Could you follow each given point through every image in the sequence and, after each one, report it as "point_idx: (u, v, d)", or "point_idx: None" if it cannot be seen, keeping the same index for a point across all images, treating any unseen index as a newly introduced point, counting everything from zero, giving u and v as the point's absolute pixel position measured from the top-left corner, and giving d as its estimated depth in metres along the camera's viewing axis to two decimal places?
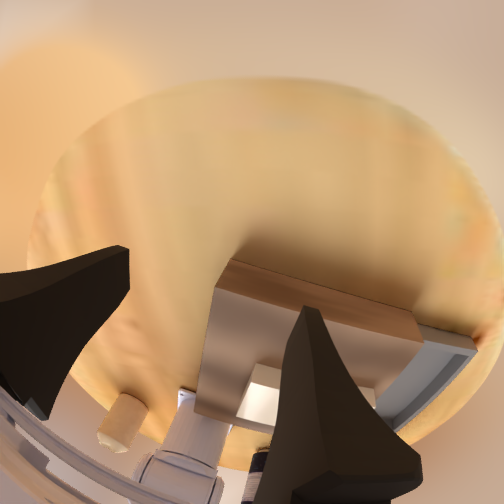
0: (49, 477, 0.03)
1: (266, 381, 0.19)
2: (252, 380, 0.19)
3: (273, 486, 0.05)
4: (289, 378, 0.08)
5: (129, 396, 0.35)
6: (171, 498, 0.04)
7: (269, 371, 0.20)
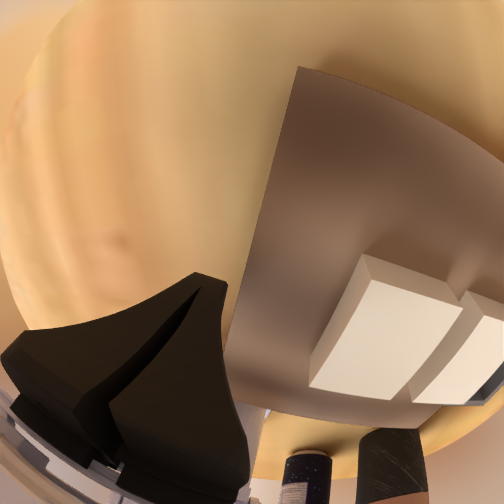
0: (49, 477, 0.03)
1: (394, 280, 0.09)
2: (372, 277, 0.09)
3: None
4: None
5: None
6: None
7: (391, 267, 0.10)
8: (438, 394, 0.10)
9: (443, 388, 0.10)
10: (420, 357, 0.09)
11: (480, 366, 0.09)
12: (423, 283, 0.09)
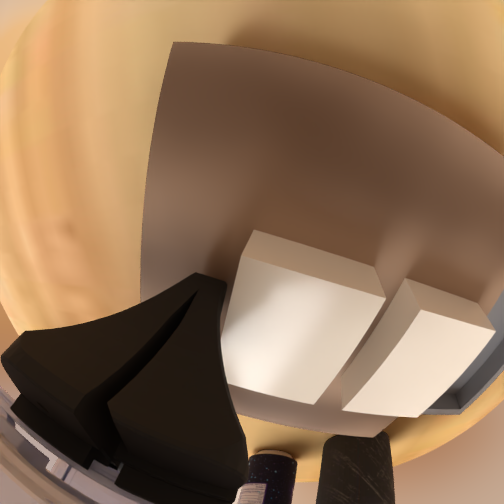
0: (49, 477, 0.03)
1: (280, 258, 0.08)
2: (245, 253, 0.08)
3: None
4: None
5: None
6: None
7: (286, 245, 0.09)
8: (376, 404, 0.10)
9: (381, 397, 0.09)
10: (337, 357, 0.09)
11: (430, 375, 0.08)
12: (329, 265, 0.08)
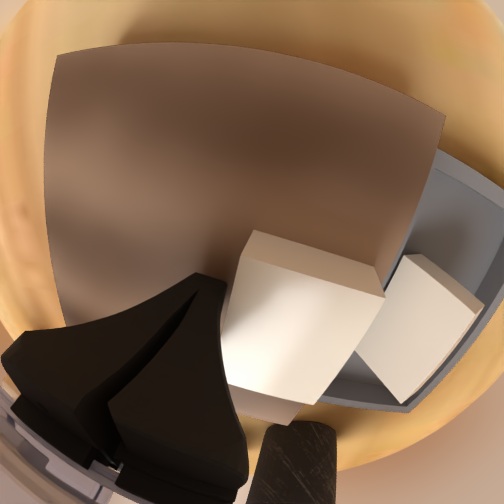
0: (49, 477, 0.03)
1: (279, 258, 0.08)
2: (244, 253, 0.08)
3: None
4: None
5: None
6: None
7: (286, 245, 0.09)
8: None
9: None
10: (337, 357, 0.09)
11: None
12: (329, 265, 0.08)
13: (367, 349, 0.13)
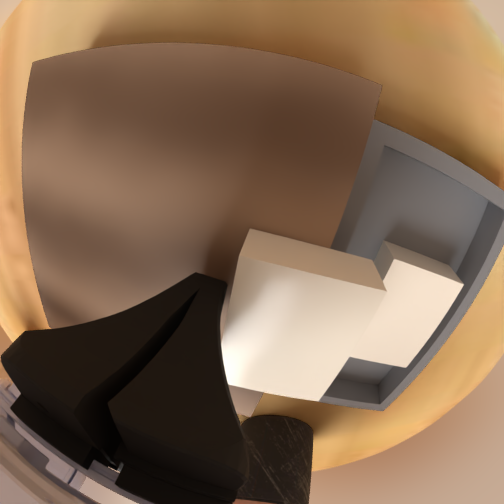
0: (49, 477, 0.03)
1: (278, 256, 0.08)
2: (243, 253, 0.08)
3: None
4: None
5: None
6: None
7: (283, 243, 0.09)
8: None
9: None
10: (340, 353, 0.09)
11: None
12: (328, 260, 0.08)
13: (361, 348, 0.13)
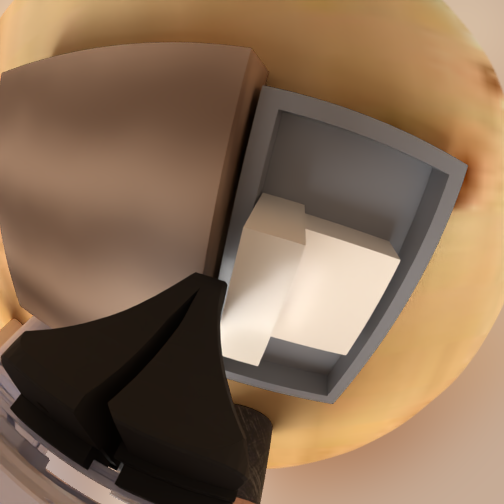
0: (49, 477, 0.03)
1: (291, 227, 0.09)
2: (298, 243, 0.08)
3: None
4: None
5: (15, 320, 0.25)
6: None
7: (265, 218, 0.10)
8: None
9: None
10: None
11: None
12: (279, 210, 0.11)
13: (286, 329, 0.13)
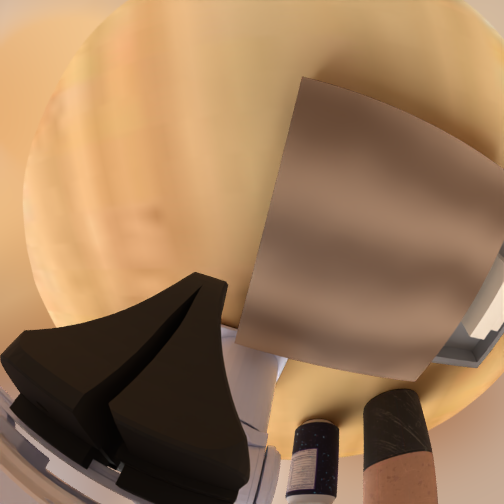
0: (49, 477, 0.03)
1: None
2: None
3: None
4: None
5: None
6: None
7: None
8: None
9: None
10: None
11: None
12: (499, 255, 0.14)
13: None
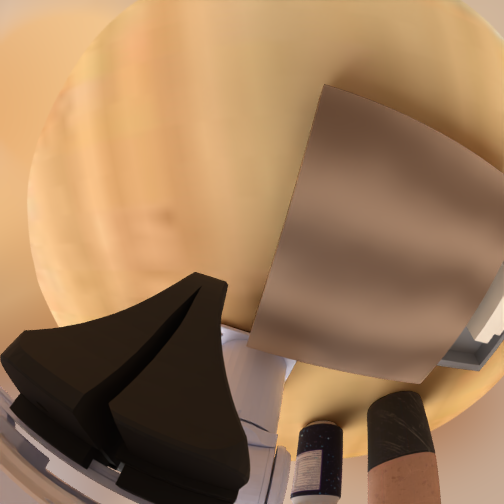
0: (49, 477, 0.03)
1: None
2: None
3: None
4: None
5: None
6: None
7: None
8: None
9: None
10: None
11: None
12: (503, 262, 0.15)
13: None
